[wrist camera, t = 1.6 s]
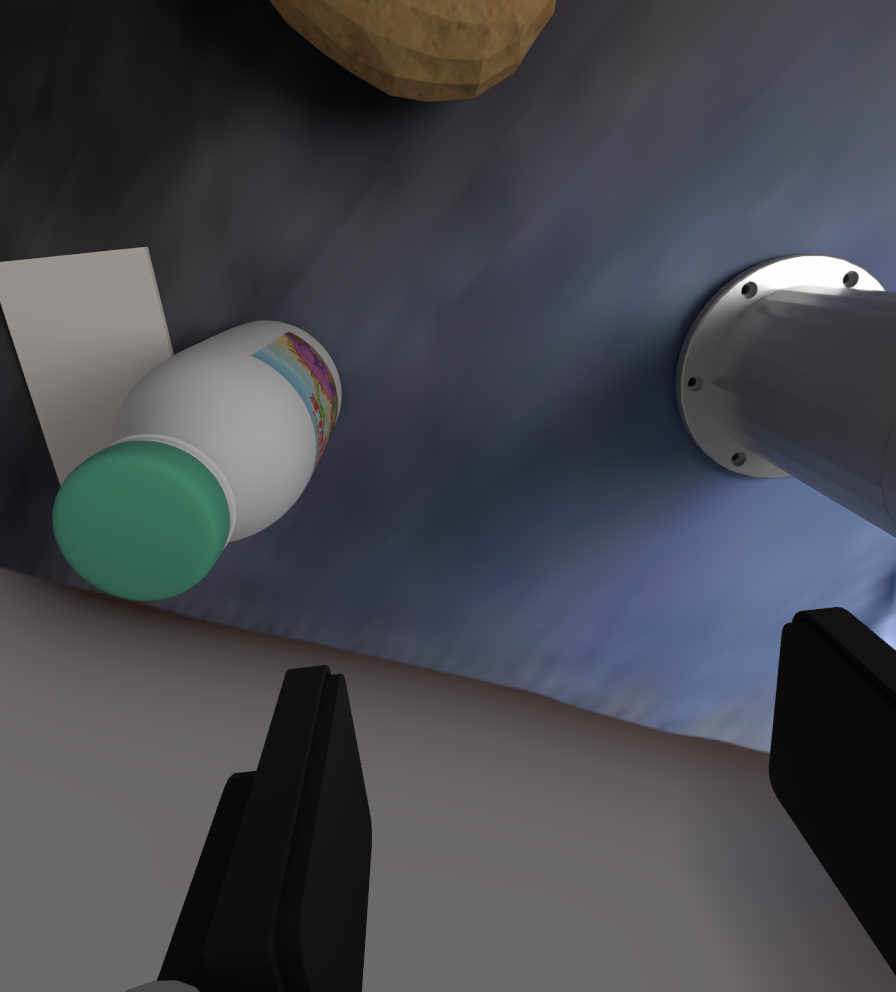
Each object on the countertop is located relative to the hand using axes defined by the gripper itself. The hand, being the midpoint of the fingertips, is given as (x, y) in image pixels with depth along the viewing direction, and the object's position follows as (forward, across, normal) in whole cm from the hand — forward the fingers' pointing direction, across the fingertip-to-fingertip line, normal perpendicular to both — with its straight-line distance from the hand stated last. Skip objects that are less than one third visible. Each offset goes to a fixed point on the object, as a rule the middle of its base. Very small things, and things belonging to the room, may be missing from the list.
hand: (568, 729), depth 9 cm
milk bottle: (+30, +10, 0) cm, 31 cm away
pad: (+30, +19, 0) cm, 35 cm away
